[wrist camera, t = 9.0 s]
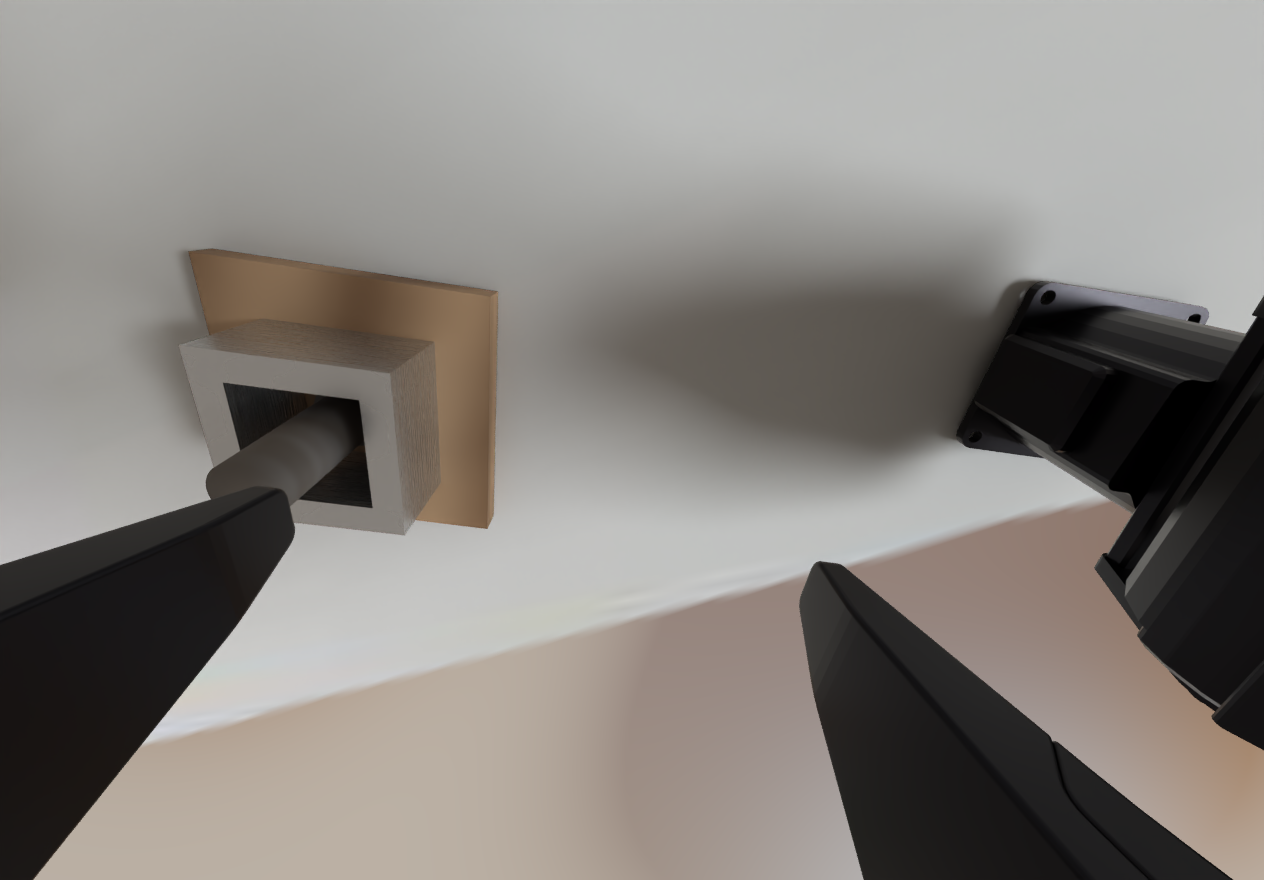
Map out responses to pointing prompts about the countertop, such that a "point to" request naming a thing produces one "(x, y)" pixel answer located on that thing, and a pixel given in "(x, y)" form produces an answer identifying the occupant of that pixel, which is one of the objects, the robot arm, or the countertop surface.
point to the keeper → (334, 424)
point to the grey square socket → (338, 367)
